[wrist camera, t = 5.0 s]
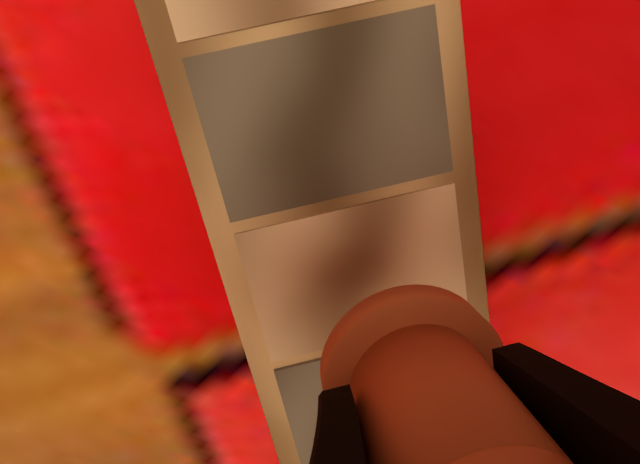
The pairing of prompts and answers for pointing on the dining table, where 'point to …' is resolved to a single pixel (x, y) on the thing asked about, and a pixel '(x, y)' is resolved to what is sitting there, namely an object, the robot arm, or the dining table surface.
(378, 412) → the pawn
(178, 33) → the board
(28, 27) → the dining table surface
